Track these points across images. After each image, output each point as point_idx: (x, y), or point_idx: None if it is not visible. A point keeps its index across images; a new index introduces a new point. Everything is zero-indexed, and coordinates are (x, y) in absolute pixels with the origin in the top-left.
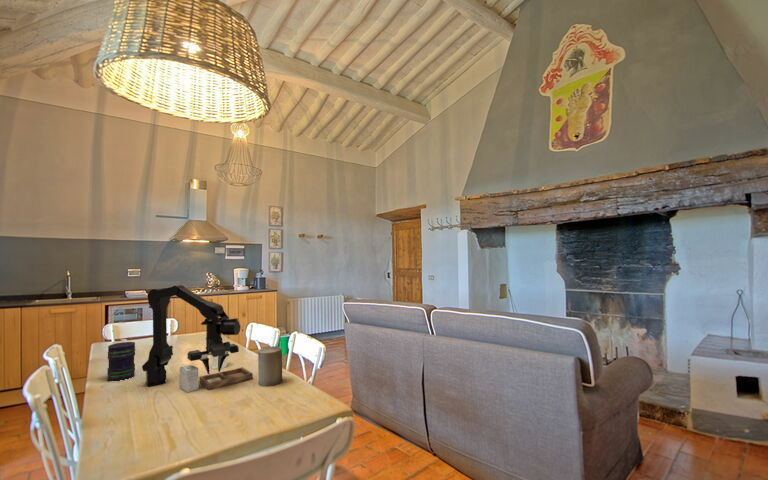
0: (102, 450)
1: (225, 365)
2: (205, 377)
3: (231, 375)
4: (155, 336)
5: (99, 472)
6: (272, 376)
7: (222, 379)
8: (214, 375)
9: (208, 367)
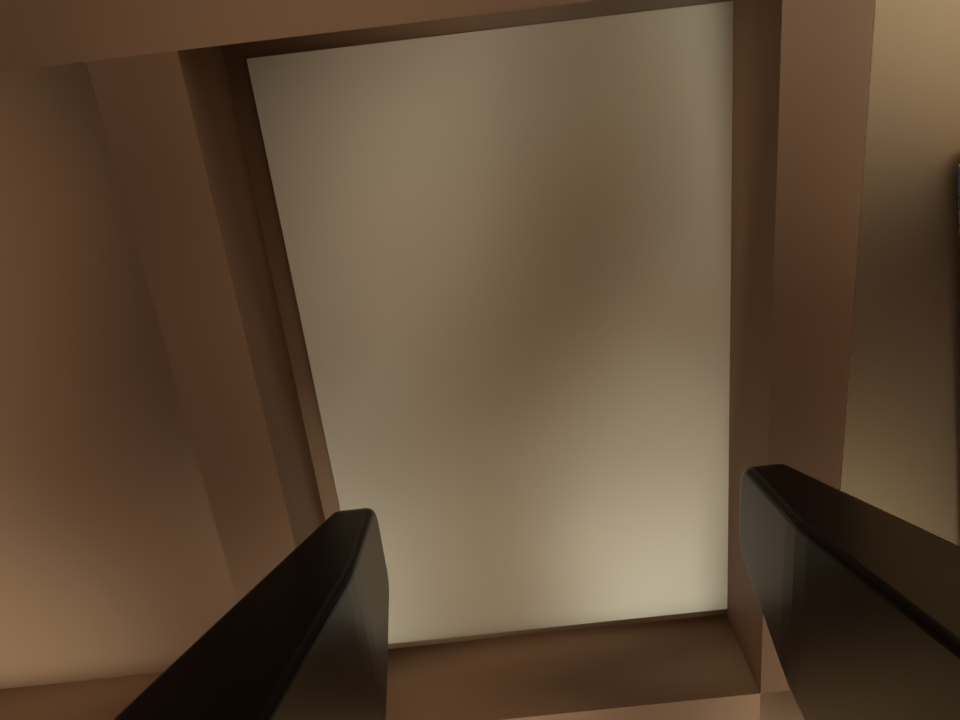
0: None
1: None
2: (681, 674)
3: (58, 621)
4: None
5: None
6: None
7: (296, 416)
8: (457, 697)
9: (941, 605)
